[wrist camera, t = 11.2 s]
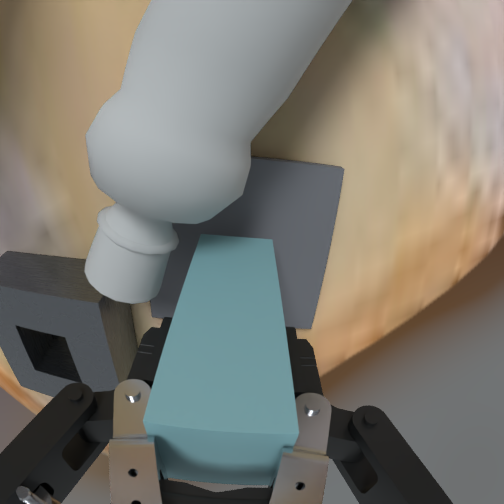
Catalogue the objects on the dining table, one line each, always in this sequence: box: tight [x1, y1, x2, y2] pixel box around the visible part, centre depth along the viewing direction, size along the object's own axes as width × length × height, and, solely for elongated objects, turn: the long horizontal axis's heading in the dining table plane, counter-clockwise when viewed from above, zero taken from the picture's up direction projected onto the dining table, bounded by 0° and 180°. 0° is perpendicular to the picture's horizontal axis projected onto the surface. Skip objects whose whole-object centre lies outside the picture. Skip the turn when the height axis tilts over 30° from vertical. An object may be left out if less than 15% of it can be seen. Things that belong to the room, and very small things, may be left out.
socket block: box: [0, 251, 138, 397], centre depth 22 cm, size 12×12×5 cm
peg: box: [143, 234, 299, 485], centre depth 13 cm, size 4×4×12 cm
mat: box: [150, 156, 344, 329], centre depth 21 cm, size 12×12×1 cm
